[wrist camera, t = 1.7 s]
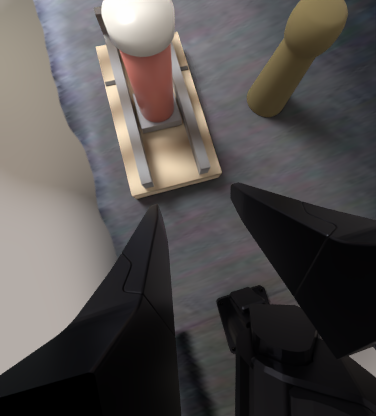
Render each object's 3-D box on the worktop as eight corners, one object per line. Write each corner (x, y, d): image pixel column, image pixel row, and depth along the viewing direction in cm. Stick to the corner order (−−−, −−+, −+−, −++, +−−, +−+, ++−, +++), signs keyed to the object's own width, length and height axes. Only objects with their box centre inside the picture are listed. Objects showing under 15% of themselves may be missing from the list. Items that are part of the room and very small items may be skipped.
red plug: (181, 125, 22) (182, 34, 12) (143, 134, 21) (110, 47, 11) (171, 91, 22) (164, -24, 12) (134, 99, 22) (94, -13, 12)
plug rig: (218, 177, 23) (231, 159, 17) (136, 199, 22) (120, 188, 16) (177, 46, 26) (176, -8, 20) (102, 61, 25) (78, 8, 19)
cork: (239, 91, 25) (284, -13, 14) (272, 77, 26) (338, -34, 15) (259, 123, 25) (320, 39, 14) (291, 107, 25) (374, 16, 14)
